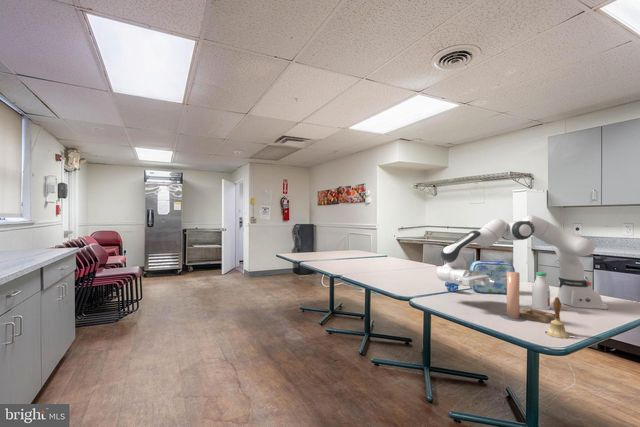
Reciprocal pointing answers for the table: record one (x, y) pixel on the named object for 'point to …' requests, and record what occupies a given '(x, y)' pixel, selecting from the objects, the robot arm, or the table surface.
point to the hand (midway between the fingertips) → (489, 282)
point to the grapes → (451, 286)
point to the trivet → (513, 319)
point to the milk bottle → (541, 292)
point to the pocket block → (536, 315)
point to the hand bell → (557, 323)
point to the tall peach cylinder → (513, 295)
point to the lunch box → (492, 275)
